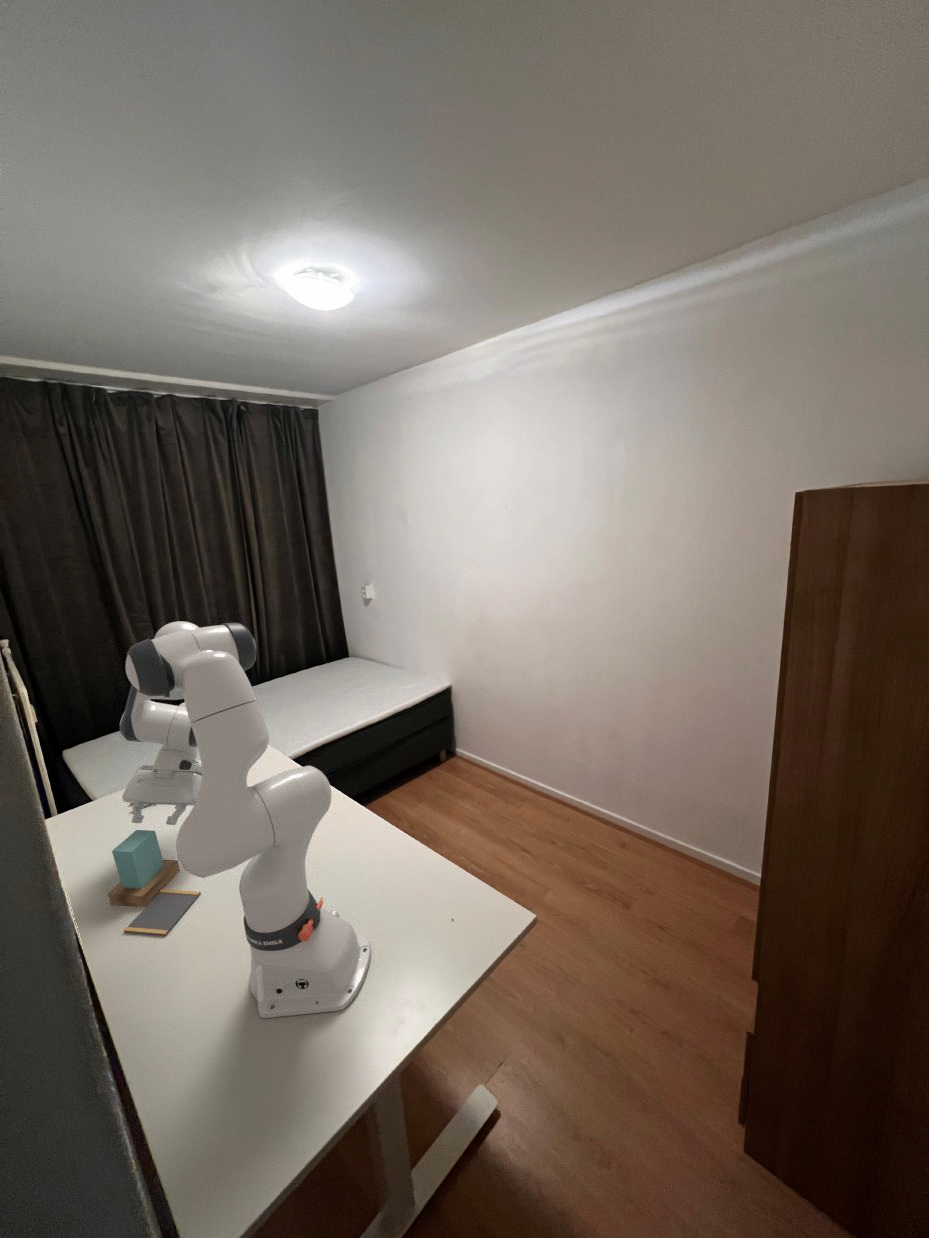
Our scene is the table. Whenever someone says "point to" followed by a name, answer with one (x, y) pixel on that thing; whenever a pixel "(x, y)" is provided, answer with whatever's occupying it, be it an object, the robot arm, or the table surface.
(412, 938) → the table surface
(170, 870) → the block
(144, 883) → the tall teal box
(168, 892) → the mat
